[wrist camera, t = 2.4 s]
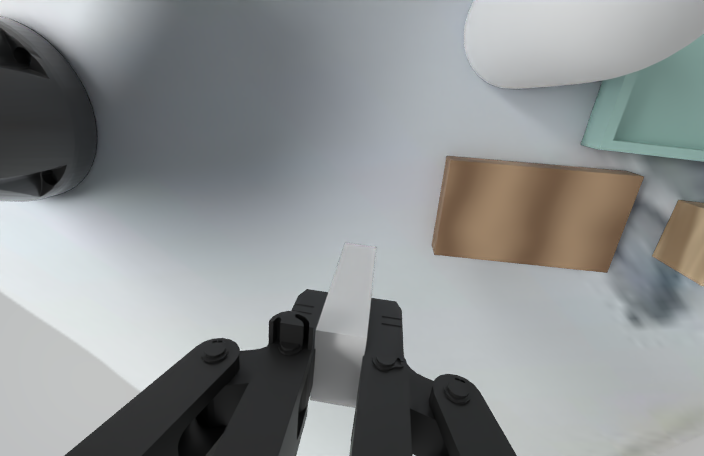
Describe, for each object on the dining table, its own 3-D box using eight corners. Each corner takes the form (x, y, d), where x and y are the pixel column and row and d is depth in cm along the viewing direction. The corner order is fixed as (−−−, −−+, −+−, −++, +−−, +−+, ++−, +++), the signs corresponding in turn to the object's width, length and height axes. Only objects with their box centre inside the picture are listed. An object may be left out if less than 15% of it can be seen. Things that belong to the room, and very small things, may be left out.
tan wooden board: (431, 242, 31) (434, 254, 29) (445, 154, 28) (450, 160, 26) (590, 259, 30) (607, 272, 28) (622, 169, 27) (644, 176, 25)
